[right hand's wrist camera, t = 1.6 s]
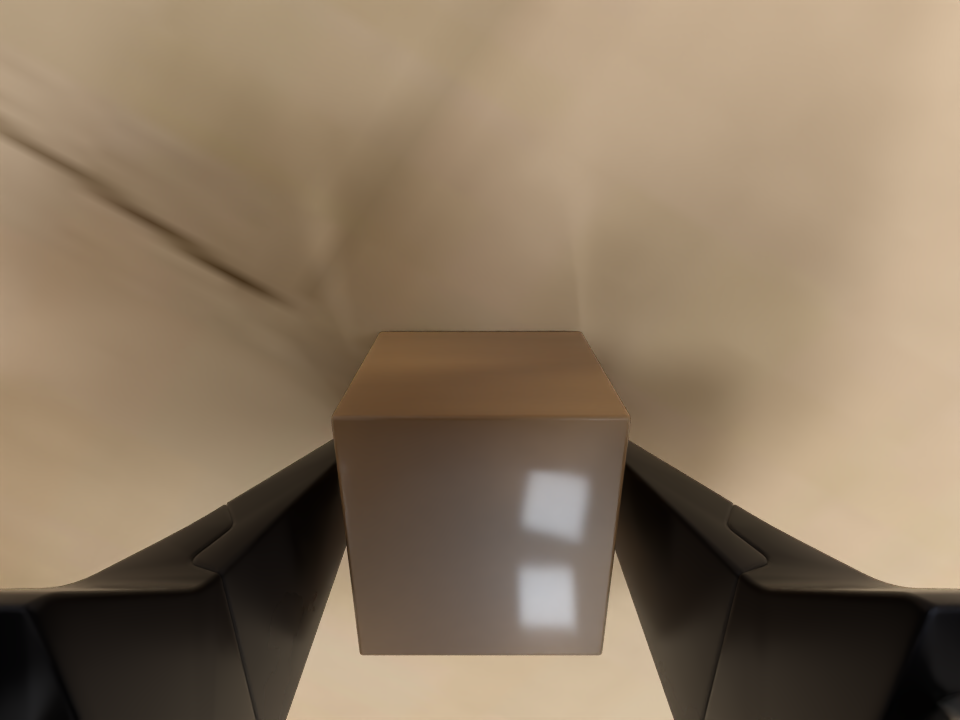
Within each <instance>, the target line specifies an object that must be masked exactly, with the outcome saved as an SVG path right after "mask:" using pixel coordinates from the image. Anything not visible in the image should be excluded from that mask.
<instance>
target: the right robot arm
mask: <svg viewBox="0 0 960 720" xmlns="http://www.w3.org/2000/svg"><path fill="white" fill-rule="evenodd" d="M345 548H346V536H345V528H344V520H343V512H342V504H341V496H340V487H339V479H338V471H337V463H336V455H335V447H334V439H333V440H331V441H329V442H328V443H326V444H324V445H323V446H321V447H319V448H318V449H316V450H314V451H313V452H311V453H309V454H308V455H306V456H304V457H303V458H301V459H299V460H298V461H296V462H294V463H293V464H291V465H289V466H288V467H286V468H284V469H283V470H281V471H279V472H278V473H276V474H275V475H273V476H271V477H270V478H268V479H266V480H265V481H263V482H261V483H260V484H258V485H256V486H255V487H253V488H251V489H250V490H248V491H246V492H245V493H243V494H241V495H240V496H238V497H236V498H235V499H233V500H231V501H230V502H228V503H227V505H223V506H221V507H220V508H218V509H216V510H215V511H213V512H211V513H210V514H208V515H206V516H205V517H203V518H201V519H199V520H198V521H196V522H194V523H192V524H191V525H189V526H187V527H185V528H183V529H181V530H180V531H178V532H176V533H174V534H172V535H170V536H168V537H166V538H165V539H163V540H161V541H159V542H157V543H155V544H153V545H151V546H149V547H147V548H145V549H143V550H141V551H139V552H137V553H135V554H133V555H132V556H130V557H128V558H126V559H124V560H122V561H120V562H118V563H116V564H114V565H112V566H110V567H108V568H106V569H104V570H102V571H100V572H99V573H96V574H94V575H92V576H90V577H88V578H86V579H83V580H80V581H77V582H75V583H71V584H67V585H64V586H59V587H52V588H20V589H0V720H286V718H287V715H288V712H289V709H290V707H291V704H292V701H293V698H294V695H295V692H296V689H297V686H298V683H299V681H300V678H301V675H302V672H303V669H304V666H305V663H306V660H307V658H308V655H309V652H310V649H311V646H312V643H313V640H314V637H315V634H316V632H317V629H318V626H319V623H320V620H321V617H322V614H323V611H324V609H325V606H326V603H327V600H328V597H329V594H330V591H331V588H332V585H333V583H334V580H335V577H336V574H337V571H338V568H339V565H340V562H341V560H342V557H343V554H344V551H345ZM615 551H616V554H617V557H618V559H619V562H620V565H621V568H622V571H623V574H624V577H625V580H626V582H627V585H628V588H629V591H630V594H631V597H632V600H633V603H634V606H635V608H636V611H637V614H638V617H639V620H640V623H641V626H642V629H643V631H644V634H645V637H646V640H647V643H648V646H649V649H650V652H651V655H652V657H653V660H654V663H655V666H656V669H657V672H658V675H659V678H660V680H661V683H662V686H663V689H664V692H665V695H666V698H667V701H668V703H669V706H670V709H671V712H672V715H673V718H674V720H960V589H940V588H908V587H901V586H896V585H893V584H889V583H885V582H883V581H880V580H877V579H874V578H872V577H870V576H868V575H866V574H864V573H862V572H860V571H858V570H856V569H854V568H852V567H850V566H848V565H846V564H844V563H842V562H840V561H838V560H836V559H834V558H832V557H830V556H829V555H827V554H825V553H823V552H821V551H819V550H817V549H815V548H813V547H811V546H809V545H807V544H805V543H803V542H801V541H799V540H797V539H796V538H794V537H792V536H790V535H788V534H786V533H784V532H782V531H780V530H779V529H777V528H775V527H773V526H771V525H769V524H768V523H766V522H764V521H762V520H761V519H759V518H757V517H756V516H754V515H752V514H750V513H749V512H747V511H745V510H744V509H742V508H740V507H739V506H737V505H733V503H732V502H730V501H729V500H727V499H725V498H724V497H722V496H720V495H719V494H717V493H715V492H714V491H712V490H710V489H709V488H707V487H705V486H704V485H702V484H701V483H699V482H697V481H696V480H694V479H692V478H691V477H689V476H687V475H686V474H684V473H682V472H681V471H679V470H677V469H676V468H674V467H672V466H671V465H669V464H667V463H666V462H664V461H662V460H661V459H659V458H657V457H656V456H654V455H652V454H651V453H649V452H647V451H646V450H644V449H642V448H641V447H639V446H637V445H636V444H634V443H632V442H631V441H629V440H628V445H627V453H626V462H625V470H624V478H623V486H622V494H621V502H620V511H619V519H618V527H617V535H616V543H615Z"/></svg>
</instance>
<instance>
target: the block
mask: <svg viewBox="0 0 960 720" xmlns="http://www.w3.org/2000/svg"><path fill="white" fill-rule="evenodd" d="M630 421H631V418H630V415H629V413H628V412H627V410H626V408H625V406H624V405H623V403H622V401H621V400H620V398H619V396H618V394H617V393H616V391H615V389H614V387H613V386H612V384H611V382H610V381H609V379H608V377H607V375H606V374H605V372H604V370H603V368H602V367H601V365H600V363H599V362H598V360H597V358H596V356H595V355H594V353H593V351H592V349H591V348H590V346H589V344H588V343H587V341H586V339H585V337H584V336H583V334H582V333H581V332H380V333H379V335H378V336H377V338H376V340H375V342H374V343H373V345H372V347H371V349H370V350H369V352H368V354H367V356H366V357H365V359H364V361H363V363H362V364H361V366H360V368H359V370H358V371H357V373H356V375H355V377H354V378H353V380H352V382H351V384H350V385H349V387H348V389H347V391H346V392H345V394H344V396H343V397H342V399H341V401H340V403H339V404H338V406H337V408H336V410H335V411H334V413H333V415H332V417H331V422H332V430H333V438H334V447H335V455H336V463H337V471H338V479H339V487H340V496H341V504H342V512H343V520H344V528H345V536H346V545H347V553H348V561H349V569H350V577H351V585H352V594H353V602H354V610H355V618H356V626H357V634H358V643H359V651H360V654H361V655H601V654H602V649H603V641H604V633H605V625H606V617H607V609H608V600H609V592H610V584H611V576H612V568H613V560H614V551H615V543H616V535H617V527H618V519H619V511H620V502H621V494H622V486H623V478H624V470H625V462H626V453H627V445H628V437H629V429H630Z"/></svg>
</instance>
